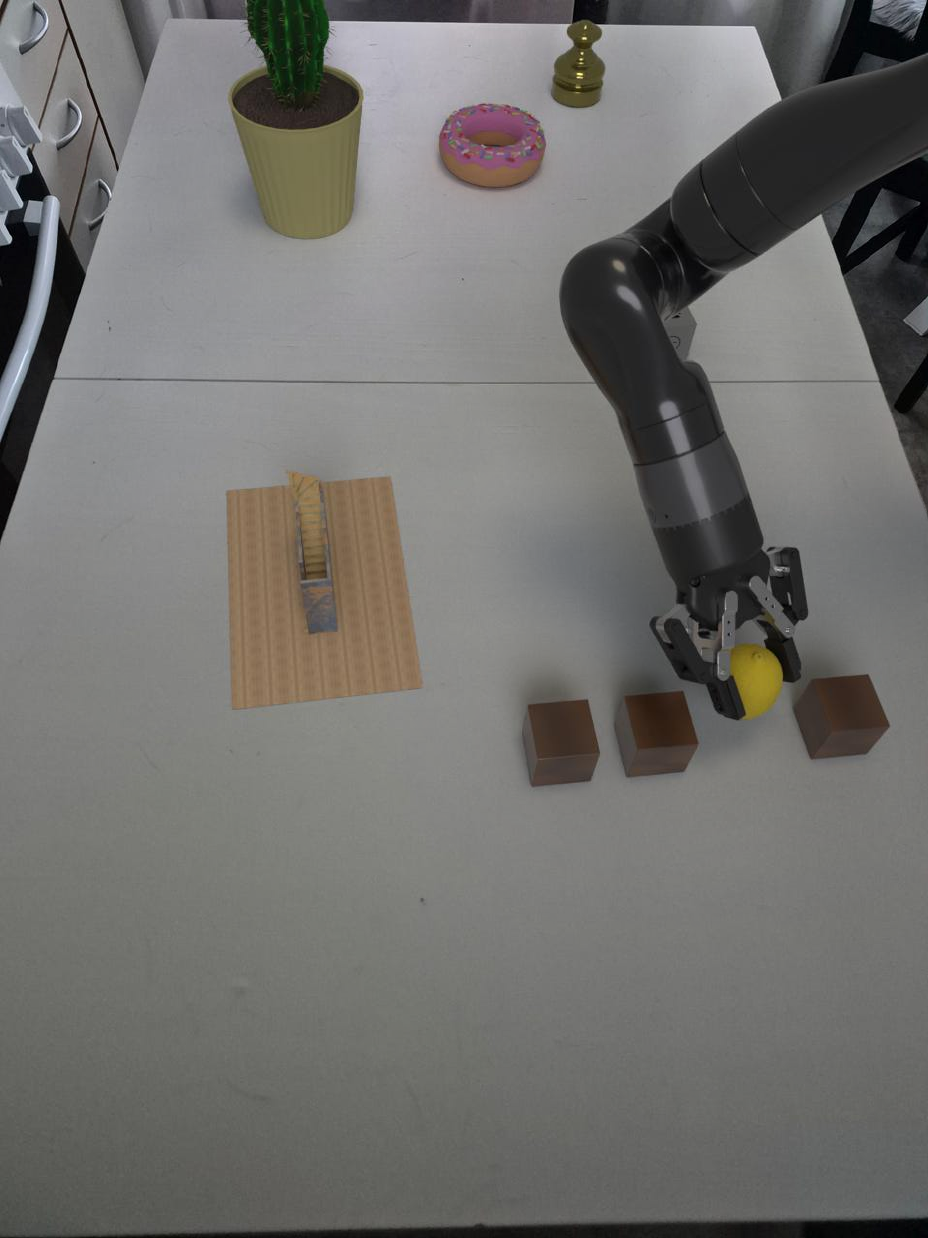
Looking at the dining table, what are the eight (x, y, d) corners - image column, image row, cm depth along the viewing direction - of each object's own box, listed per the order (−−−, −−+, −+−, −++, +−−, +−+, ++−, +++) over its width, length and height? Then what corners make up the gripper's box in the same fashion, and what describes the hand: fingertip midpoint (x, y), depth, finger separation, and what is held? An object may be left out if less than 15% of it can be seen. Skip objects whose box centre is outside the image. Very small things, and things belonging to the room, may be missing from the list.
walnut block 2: (670, 717, 83) (683, 688, 79) (684, 772, 80) (699, 744, 76) (613, 723, 83) (623, 693, 79) (626, 777, 80) (637, 750, 76)
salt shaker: (540, 93, 142) (548, 19, 134) (575, 77, 145) (584, 4, 137) (576, 113, 139) (586, 40, 131) (611, 97, 142) (623, 24, 134)
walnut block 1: (579, 726, 82) (587, 697, 78) (590, 781, 79) (600, 754, 75) (521, 731, 82) (527, 702, 78) (531, 787, 79) (537, 760, 75)
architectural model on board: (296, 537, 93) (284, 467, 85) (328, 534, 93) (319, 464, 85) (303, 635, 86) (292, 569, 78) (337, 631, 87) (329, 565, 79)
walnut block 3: (846, 701, 85) (868, 672, 81) (867, 754, 82) (890, 726, 78) (791, 706, 84) (811, 677, 80) (810, 759, 81) (831, 732, 77)
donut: (451, 197, 126) (453, 160, 122) (428, 139, 134) (428, 102, 130) (556, 186, 128) (561, 150, 124) (527, 129, 136) (531, 93, 132)
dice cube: (644, 364, 109) (653, 328, 105) (631, 335, 112) (639, 299, 108) (686, 359, 110) (697, 323, 106) (672, 331, 112) (682, 295, 108)
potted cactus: (381, 186, 127) (371, -79, 102) (352, 256, 118) (335, -15, 93) (267, 170, 128) (230, -96, 103) (231, 239, 119) (181, -34, 94)
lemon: (705, 670, 83) (730, 618, 76) (769, 688, 82) (800, 638, 75) (693, 724, 80) (718, 675, 73) (759, 744, 79) (790, 696, 72)
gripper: (655, 545, 66) (729, 753, 71) (801, 462, 71) (861, 662, 76) (595, 542, 73) (666, 733, 78) (732, 467, 78) (791, 650, 83)
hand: (762, 697), depth 77 cm, fingers closed on lemon, 5 cm apart
